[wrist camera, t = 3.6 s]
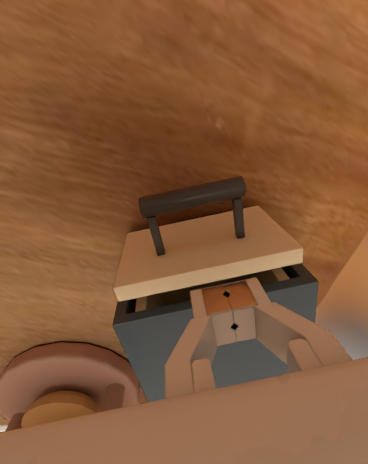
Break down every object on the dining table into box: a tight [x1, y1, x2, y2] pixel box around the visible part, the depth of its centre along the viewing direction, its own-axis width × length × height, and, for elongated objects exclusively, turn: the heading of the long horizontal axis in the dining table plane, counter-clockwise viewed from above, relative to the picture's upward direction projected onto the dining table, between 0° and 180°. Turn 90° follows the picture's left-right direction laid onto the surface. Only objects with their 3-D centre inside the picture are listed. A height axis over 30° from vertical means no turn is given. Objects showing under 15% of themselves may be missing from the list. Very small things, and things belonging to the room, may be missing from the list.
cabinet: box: [113, 263, 318, 402], centre depth 23 cm, size 16×14×10 cm
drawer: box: [113, 176, 303, 312], centre depth 21 cm, size 19×12×8 cm, turn 11°
